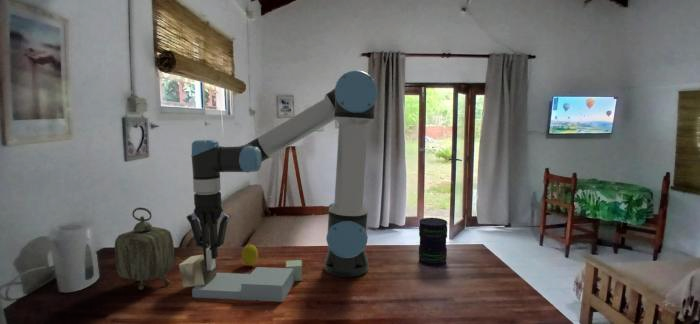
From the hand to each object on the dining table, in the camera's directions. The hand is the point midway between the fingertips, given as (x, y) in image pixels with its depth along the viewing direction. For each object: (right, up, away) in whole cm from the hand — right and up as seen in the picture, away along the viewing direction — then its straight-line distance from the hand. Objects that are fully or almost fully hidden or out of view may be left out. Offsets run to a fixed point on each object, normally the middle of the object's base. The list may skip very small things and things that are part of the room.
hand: (211, 268), depth 112 cm
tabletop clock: (-21, -7, +2) cm, 22 cm away
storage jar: (+72, -4, +20) cm, 75 cm away
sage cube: (+24, -5, +8) cm, 26 cm away
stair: (+10, -6, 0) cm, 12 cm away
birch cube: (-1, 0, 0) cm, 1 cm away
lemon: (+7, -5, +18) cm, 20 cm away
